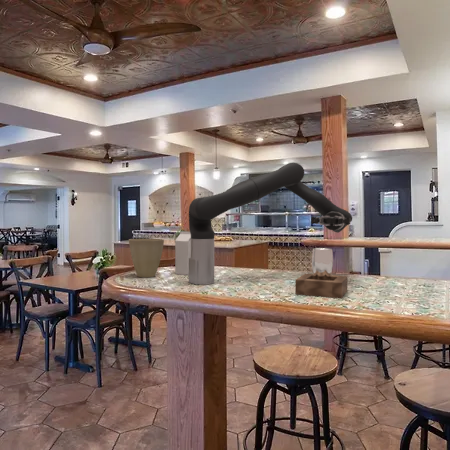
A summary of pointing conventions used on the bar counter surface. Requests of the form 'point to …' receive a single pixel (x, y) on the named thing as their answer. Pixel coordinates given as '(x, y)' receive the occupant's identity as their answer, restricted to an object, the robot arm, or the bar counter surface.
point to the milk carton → (182, 253)
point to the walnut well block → (321, 286)
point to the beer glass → (322, 263)
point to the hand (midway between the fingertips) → (327, 220)
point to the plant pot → (146, 256)
